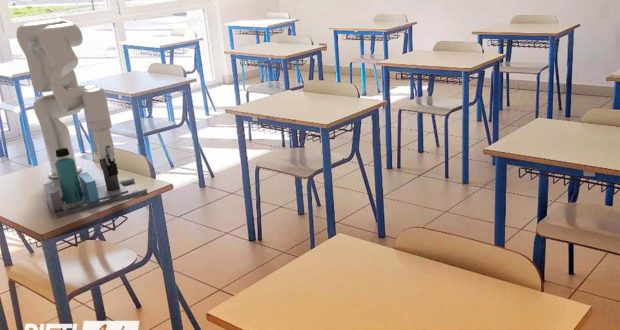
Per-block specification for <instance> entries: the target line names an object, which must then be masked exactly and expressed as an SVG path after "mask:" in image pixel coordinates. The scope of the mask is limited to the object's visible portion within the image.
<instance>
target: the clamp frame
mask: <svg viewBox="0 0 620 330" xmlns="http://www.w3.org/2000/svg"><path fill="white" fill-rule="evenodd" d="M118 181H119V183H120V184H121V185H123V186H124V187H125V186H127V185H132V184H134V182H135V181H136V180H135V178H134V177H130V178H125V179H122V180H118ZM135 183H136V182H135ZM105 185H106V184H104V185H99V186H96V187H97V188H98V187H102V186H105ZM43 190H44V192H45V197H46V204H47V205H48V207H49V209H50V210H51V211H52V213H53V214H54V216H55V218H56V219H59V218H63V217H66V216H70V215H73V214H77V213H80V212H85V211H88V210H92V209H95V208H99V207H102V206H105V205H109V204H112V203H113V204H114V203H116V202H119V201H120V202H121V201H124V200H128V199H131V197H132V198H134V197H138V195H139V196H141V195H140V194H143V193H146V194H148V189H147V188H146V187H145V188H139V189H136V190H133V191H128V192H129V193H125V194H121V195H118V196H114V197H110V198H107V199H103V200H99V201H95V202H92V203H89V202H88V203H84V204H81V205H78V206H74V207H71V208H66V209H64V205H63V202H64V201H63V200H64V199H63V195H61V192H60V190H59V189H58V187H57V186H56V184H55V183H54V182H53V181H51V182H46V183H44V184H43ZM82 195H83V194H82ZM143 195H144V194H143Z"/></svg>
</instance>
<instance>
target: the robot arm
mask: <svg viewBox="0 0 620 330" xmlns="http://www.w3.org/2000/svg"><path fill="white" fill-rule="evenodd" d="M15 32H16V40H17V42H18V45H19V47H20V49H21V50H22V52H23V54H24V55H25V58H26V62H27V67H28V70H29V75H30V79H31V82H32V83H31V84H32V86H33V88H34V90H35V92H38V93H48V92H49V93H50V92H52V94H47V95H43V96H40V97H38V98H36V99H35V100H34V102H33V106H32V107H33V111H34V113H35V116H36V118H37V120H38V123H39V125H40V128H41V133H42V137H43V139H44V145H45V149H46V152H47V158H48V161H49V165H50V168H51V170H50V171H48V173H47V175H48V177H49V178H51V179H59V178H58V174H57V170H56V166H55V163H56V161H57V160H58V159H60V158H64V157H70V158H72V159H74V161H75V166H76V170H77V174H78V173H79V174H80V172H81V171H82V166H81V165H78V164H77V162H76V161H77V160H76V158H75V157H76V156H75V153H74V148H73V143H72V139H71V135H70V130H69V127H68V126H67V125H66V124H65V123H64V122H62V121H61V120H60V119H62V118H65V117H70V116H74V115H76V114H80V112H81V111H82V110H83V109H84V112H85V117H86V122H87V125H88V131H89V132H91V137H92V142H93V143H92V145H93V150H94V154H95V156H97V157H98V160H99V164H100V169H101V171H103V169H102V164H101V160H100V159H102V160H103V158H105V160H106V162H107V165H106V166H107V170H108V175H109V176H114V175H117V176H118V175H119V170H118V165H117V162H116V159H115V156H116V152H115V146H114V142H113V138H112V134H111V129H112V128H113V126H112V125H113V124H112V121H111V114H110V111H109V106H108V104H109V103H108V101H107V95H106V91H105V90H104V88H102V87H98V86H97V85H95V84H87V85H81V86H79V84H78V79H77V75H76V72H75V70H74V69H75V68H76V67H77V66H78V64H79V59H78V56H77V54H76V53H75V51H74V50H73V48H74V47H79V46H81V45H82V43H83V40H84V37H83V33H82V31H81V29H80V27H79V26H78V25H77V24H75V22H72V21H69V20H66V19H63V18H56V19H47V20H41V21H32V22H27V23H25V24H21V25H19V27H17V29H16V31H15ZM62 148H67V149H68V151H69V155H67V156H64V157H56V150H58V149H62ZM108 159H109V161H108Z"/></svg>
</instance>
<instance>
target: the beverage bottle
mask: <svg viewBox="0 0 620 330" xmlns="http://www.w3.org/2000/svg"><path fill="white" fill-rule="evenodd" d="M67 155H69V151H68V149H67V148H62V149H58V150H56V157H64V156H67ZM75 161H76V160H75ZM75 161H74V159H72V158H70V157H64V158H60V159H58V160H57V161H56V163H55V166H56V170H57V174H58V178H57V179H58V181H59V182H58V183H59V187H60V191H61V196H63V199H64V200H63V202H64V204H66V205H74V204H78V203H80V202H82V201H83V200H84V196H83V195H82V194H83V193H82V189H81V185H80V180H79V176H78V173H77V170H76V166H75Z"/></svg>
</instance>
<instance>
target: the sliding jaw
mask: <svg viewBox="0 0 620 330" xmlns="http://www.w3.org/2000/svg"><path fill="white" fill-rule="evenodd" d="M99 159H100V158H99ZM100 160H101V164H102V169H103V170H102V169H101V170H102V174H103V177H104V182H105V184H104V185H105V186H103V185H101V186H102V187H99V186H97V183H96V179H94V178H93V177H92V175H90V174H89V172H87V171H86V172H82V173H79V174H78V173H77V174H78V178H79V182H80V187H81V189H82V193H83V198H85V199H86V201H87V202H88V203H92V202H95V201H99V200H103V199H107V198H110V197H114V196H118V195H121V194H125V193H129V192H130V191H129V190H128V189H127V188H126V187H125V185H124V186H123V185H121V184H120V183H119V181H120V180H119V176H118V174H117V175H114V176H109V175H108V170H107V166H106V165H107V162H106V160H105V158H103V160H102V159H100ZM100 160H99V161H100ZM108 161H109V159H108ZM97 187H98V188H97Z"/></svg>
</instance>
